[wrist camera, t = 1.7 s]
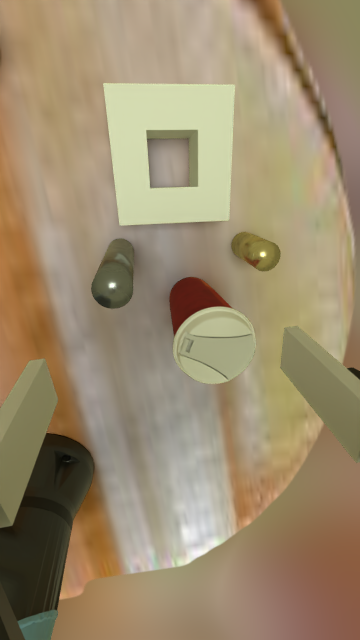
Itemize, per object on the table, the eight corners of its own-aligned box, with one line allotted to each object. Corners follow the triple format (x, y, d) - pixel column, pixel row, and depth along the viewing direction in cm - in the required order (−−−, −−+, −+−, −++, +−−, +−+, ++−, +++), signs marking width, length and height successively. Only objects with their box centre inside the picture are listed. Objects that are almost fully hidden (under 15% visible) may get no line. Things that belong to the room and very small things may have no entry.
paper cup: (153, 315, 38) (163, 380, 25) (172, 260, 35) (192, 302, 22) (207, 329, 40) (240, 395, 27) (228, 278, 37) (276, 325, 24)
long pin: (109, 264, 34) (94, 310, 22) (106, 239, 33) (88, 271, 20) (134, 263, 34) (134, 306, 22) (132, 237, 33) (130, 268, 21)
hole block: (121, 220, 32) (119, 225, 28) (108, 100, 27) (103, 83, 23) (216, 215, 33) (229, 220, 29) (219, 100, 29) (234, 84, 24)
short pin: (230, 257, 36) (251, 272, 30) (232, 232, 35) (253, 242, 28) (253, 255, 36) (278, 270, 30) (255, 231, 35) (282, 241, 29)
